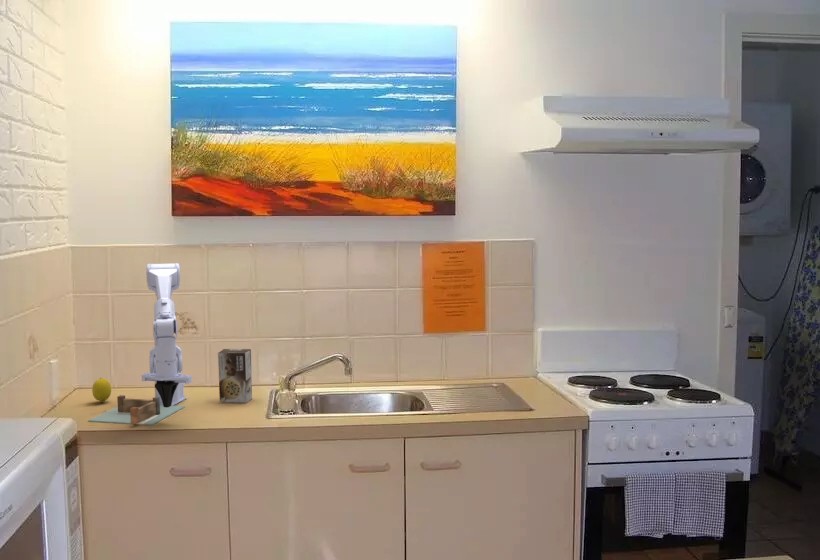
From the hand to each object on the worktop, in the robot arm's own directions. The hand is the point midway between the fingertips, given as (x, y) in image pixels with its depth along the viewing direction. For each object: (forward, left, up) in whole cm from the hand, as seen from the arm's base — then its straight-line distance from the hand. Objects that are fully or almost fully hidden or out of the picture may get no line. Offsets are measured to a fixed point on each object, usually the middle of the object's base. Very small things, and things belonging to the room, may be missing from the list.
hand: (167, 406), depth 231 cm
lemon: (-16, -31, -5) cm, 35 cm away
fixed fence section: (-6, -12, -5) cm, 14 cm away
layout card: (-6, -13, -5) cm, 15 cm away
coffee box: (-27, +9, -5) cm, 29 cm away
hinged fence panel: (+1, -7, -4) cm, 8 cm away
